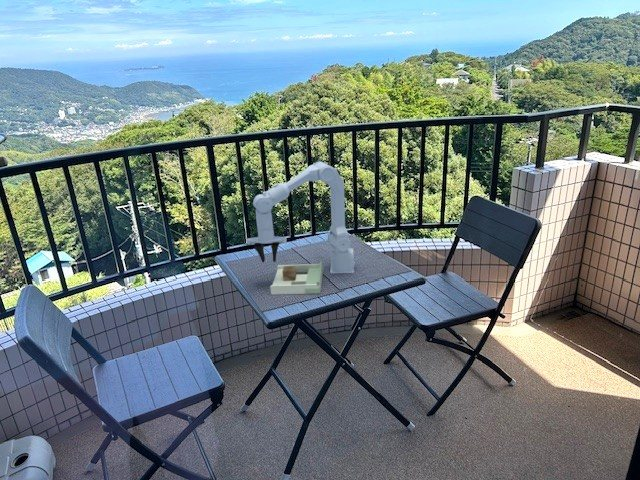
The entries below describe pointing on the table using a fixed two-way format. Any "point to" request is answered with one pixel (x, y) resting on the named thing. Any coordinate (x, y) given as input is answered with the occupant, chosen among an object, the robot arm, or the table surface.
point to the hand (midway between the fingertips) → (269, 261)
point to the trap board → (299, 280)
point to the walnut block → (289, 273)
